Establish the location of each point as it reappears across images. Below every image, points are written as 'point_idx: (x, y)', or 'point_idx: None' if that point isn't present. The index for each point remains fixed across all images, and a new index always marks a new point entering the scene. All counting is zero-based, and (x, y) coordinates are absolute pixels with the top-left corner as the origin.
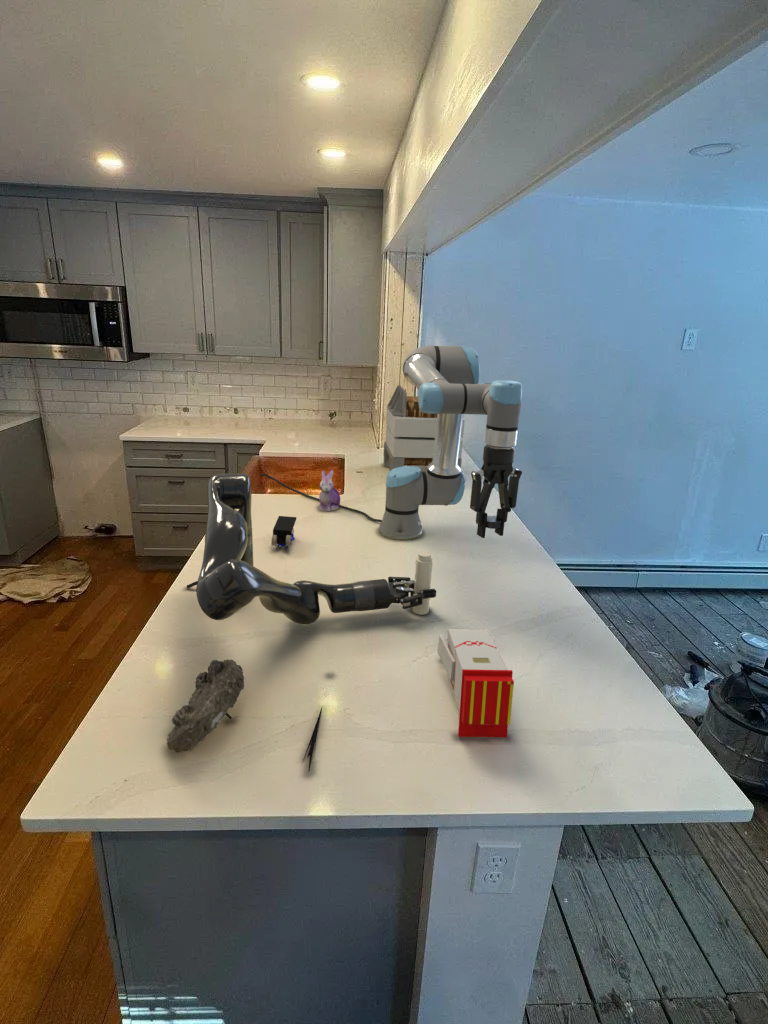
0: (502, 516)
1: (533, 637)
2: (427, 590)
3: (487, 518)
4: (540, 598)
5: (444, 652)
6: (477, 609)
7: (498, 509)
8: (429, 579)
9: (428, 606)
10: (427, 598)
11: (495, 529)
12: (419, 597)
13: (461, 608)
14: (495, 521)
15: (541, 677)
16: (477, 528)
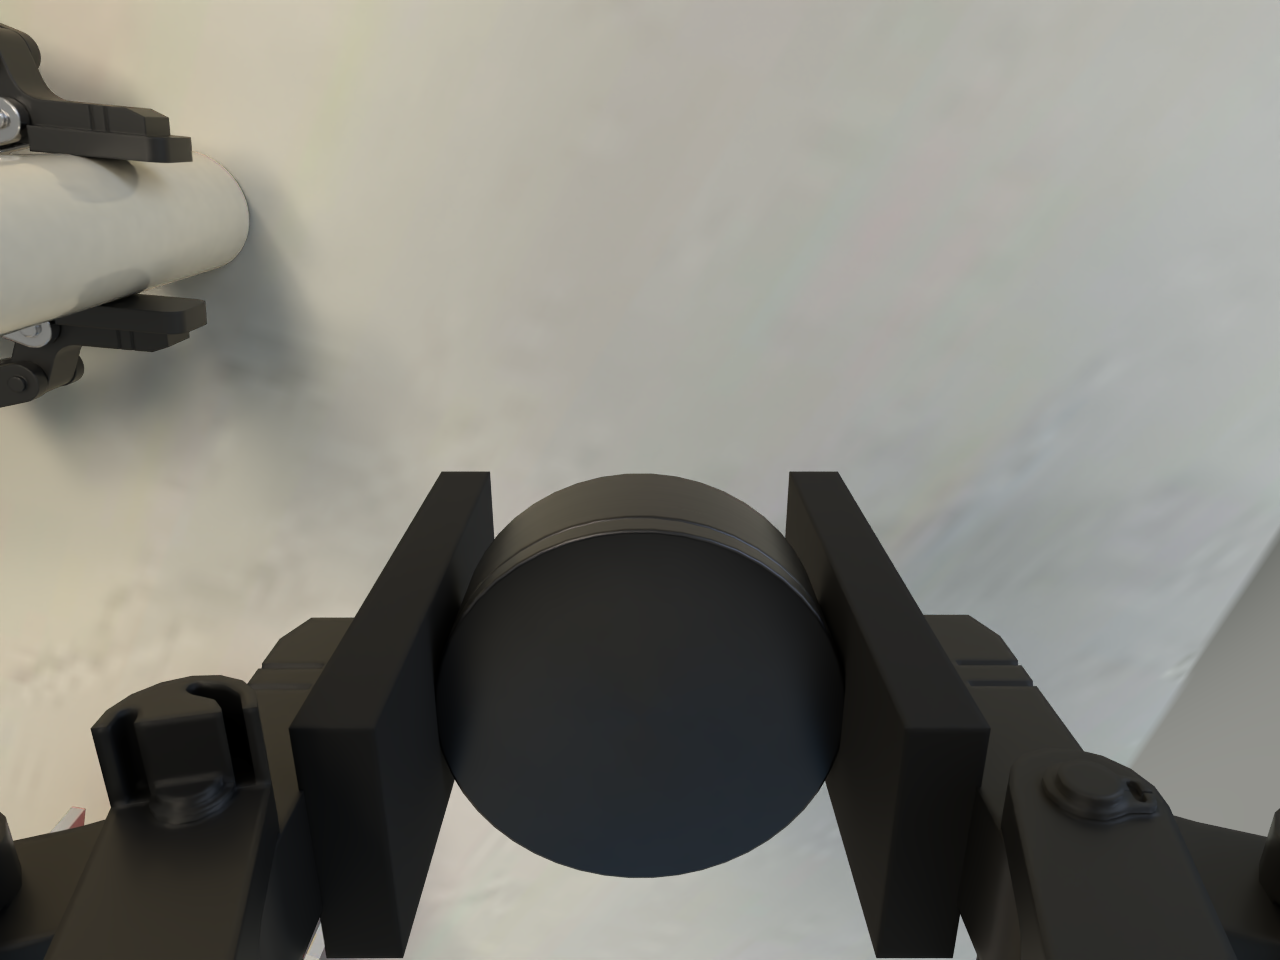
0: (848, 858)
1: None
2: (97, 325)
3: (561, 672)
4: (1131, 326)
5: None
6: (600, 323)
7: (895, 776)
8: (64, 315)
9: (214, 263)
10: (158, 286)
11: (798, 503)
12: (7, 404)
13: (496, 275)
14: (630, 849)
15: (568, 923)
16: (416, 519)
